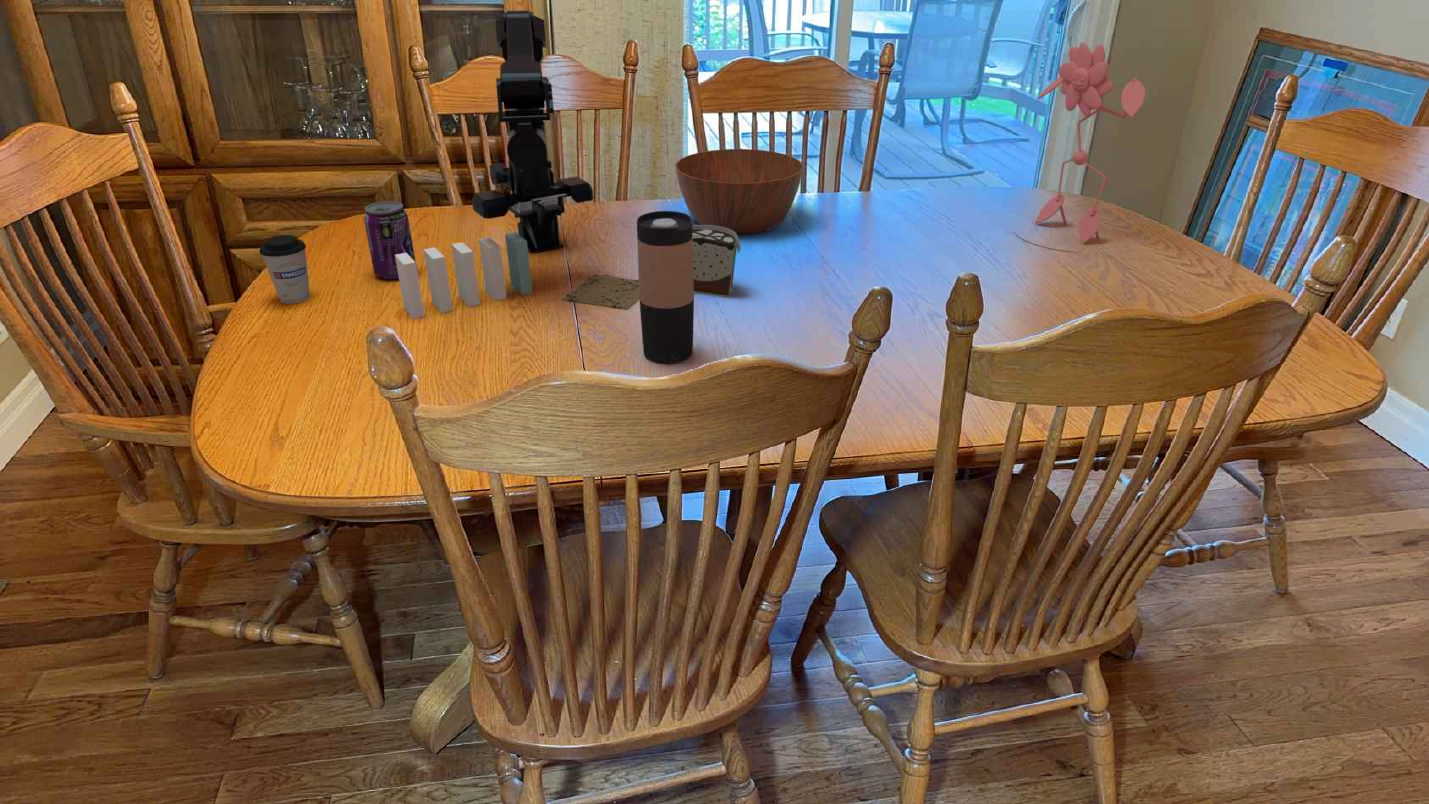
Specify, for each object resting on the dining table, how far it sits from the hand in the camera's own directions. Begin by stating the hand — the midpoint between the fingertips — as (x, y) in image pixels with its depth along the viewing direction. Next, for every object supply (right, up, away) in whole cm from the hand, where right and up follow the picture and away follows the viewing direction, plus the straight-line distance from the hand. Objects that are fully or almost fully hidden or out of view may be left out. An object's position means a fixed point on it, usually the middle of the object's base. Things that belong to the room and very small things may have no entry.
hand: (538, 247), depth 152 cm
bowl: (+34, +10, +32) cm, 48 cm away
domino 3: (-11, -9, -3) cm, 14 cm away
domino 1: (-18, -11, -7) cm, 23 cm away
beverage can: (-26, -3, +8) cm, 28 cm away
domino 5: (-3, -7, +2) cm, 8 cm away
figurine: (+94, +6, +25) cm, 98 cm away
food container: (+28, -6, +2) cm, 29 cm away
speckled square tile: (+12, -8, +1) cm, 14 cm away
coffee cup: (-40, -9, -2) cm, 41 cm away
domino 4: (-7, -8, 0) cm, 11 cm away
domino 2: (-15, -10, -5) cm, 18 cm away
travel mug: (+22, -19, -19) cm, 35 cm away
